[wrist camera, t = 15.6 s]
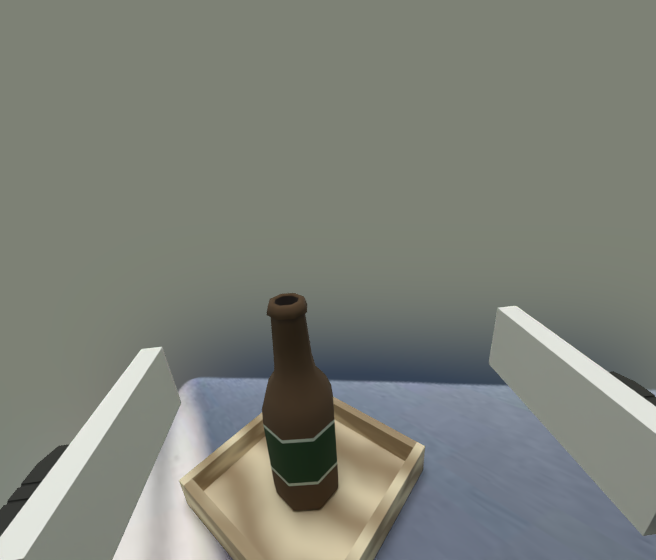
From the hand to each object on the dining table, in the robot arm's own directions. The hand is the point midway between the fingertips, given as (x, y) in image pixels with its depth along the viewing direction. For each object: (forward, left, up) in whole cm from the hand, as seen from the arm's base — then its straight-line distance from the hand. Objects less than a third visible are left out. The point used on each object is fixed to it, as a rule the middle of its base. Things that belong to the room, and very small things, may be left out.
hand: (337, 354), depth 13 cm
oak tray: (-9, -13, -30) cm, 33 cm away
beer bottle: (-9, -13, -29) cm, 33 cm away
